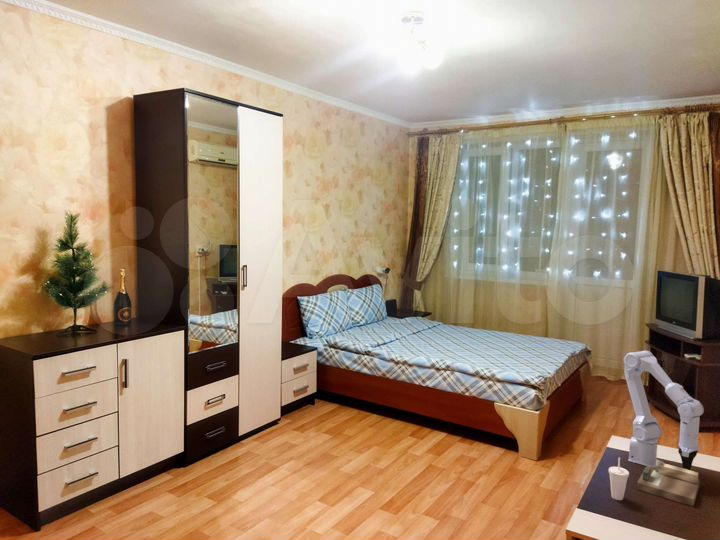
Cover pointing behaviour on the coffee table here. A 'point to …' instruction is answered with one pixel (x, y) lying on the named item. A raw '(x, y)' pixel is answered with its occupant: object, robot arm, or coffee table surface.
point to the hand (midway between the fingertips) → (686, 468)
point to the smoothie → (618, 481)
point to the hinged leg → (676, 472)
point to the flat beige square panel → (668, 486)
